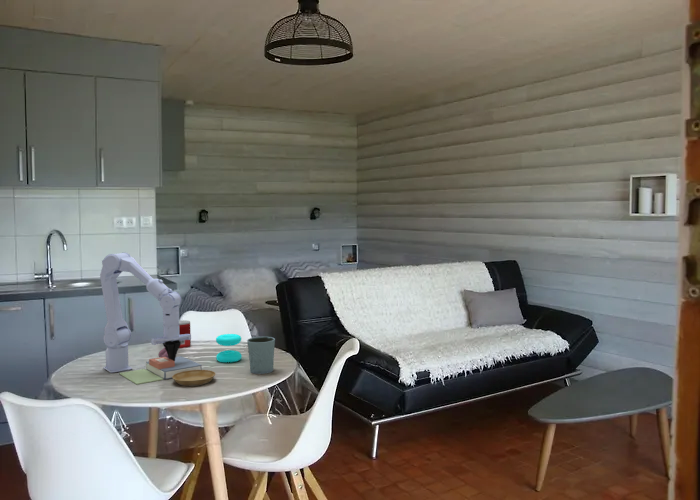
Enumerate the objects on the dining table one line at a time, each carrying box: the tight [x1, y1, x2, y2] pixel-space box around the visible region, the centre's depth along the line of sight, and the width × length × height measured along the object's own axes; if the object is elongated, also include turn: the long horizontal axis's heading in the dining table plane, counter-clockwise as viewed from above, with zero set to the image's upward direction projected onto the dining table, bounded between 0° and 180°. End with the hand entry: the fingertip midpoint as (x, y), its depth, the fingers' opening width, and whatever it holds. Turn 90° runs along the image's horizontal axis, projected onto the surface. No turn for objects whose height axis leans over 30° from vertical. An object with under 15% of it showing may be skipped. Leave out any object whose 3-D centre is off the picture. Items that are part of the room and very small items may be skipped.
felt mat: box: [118, 368, 164, 386], centre depth 217 cm, size 18×9×1 cm, turn 39°
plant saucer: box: [171, 369, 217, 387], centre depth 210 cm, size 15×15×3 cm
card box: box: [148, 357, 175, 369], centre depth 221 cm, size 9×6×2 cm, turn 40°
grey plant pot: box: [246, 336, 276, 375], centre depth 224 cm, size 10×10×12 cm
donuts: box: [215, 333, 243, 364], centre depth 241 cm, size 10×10×10 cm
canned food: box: [179, 319, 192, 349], centre depth 267 cm, size 8×8×11 cm
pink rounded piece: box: [158, 347, 169, 358], centre depth 245 cm, size 10×5×7 cm, turn 22°
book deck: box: [145, 355, 203, 380], centre depth 224 cm, size 18×14×3 cm
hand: (172, 361), depth 223 cm, fingers closed
